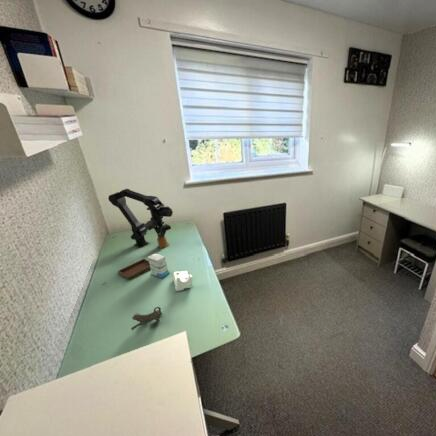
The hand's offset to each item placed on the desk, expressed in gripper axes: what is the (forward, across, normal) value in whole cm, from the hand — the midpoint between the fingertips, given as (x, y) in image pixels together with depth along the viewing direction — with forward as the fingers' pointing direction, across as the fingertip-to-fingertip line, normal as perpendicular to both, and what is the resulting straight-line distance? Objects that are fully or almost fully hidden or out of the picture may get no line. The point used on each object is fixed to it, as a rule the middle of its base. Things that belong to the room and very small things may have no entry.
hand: (161, 236), depth 163 cm
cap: (-2, 0, 0) cm, 2 cm away
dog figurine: (+8, +58, -43) cm, 72 cm away
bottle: (+8, 0, 0) cm, 8 cm away
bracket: (+8, +46, -17) cm, 50 cm away
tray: (+8, +13, -25) cm, 29 cm away
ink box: (+8, +28, -20) cm, 35 cm away
